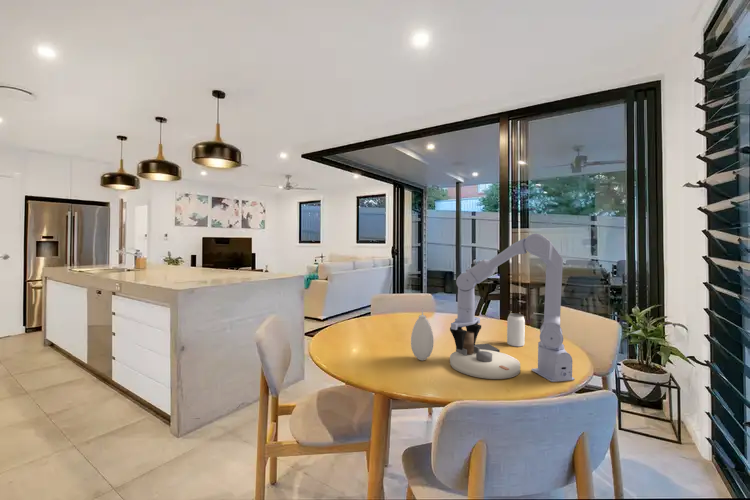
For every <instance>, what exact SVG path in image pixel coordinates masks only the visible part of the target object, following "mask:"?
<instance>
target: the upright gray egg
mask: <svg viewBox="0 0 750 500" xmlns="http://www.w3.org/2000/svg"><path fill="white" fill-rule="evenodd" d="M434 341H435V339H434V333H433V329H432V327H431V324H430V322H429V320H428V319H427V316H426V315H424V308H422V309H421V315H419V316H418V318H417V319H416V321H415V323H414V325H413V328H412V331H411V335H410V347H411V351H412V354H413V355H414V356H415V357H416V359H417V360H419V361H425V360H427V359H428V358H430V356H431V355H432V352H433V349H434Z"/></svg>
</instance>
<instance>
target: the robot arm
mask: <svg viewBox="0 0 750 500" xmlns="http://www.w3.org/2000/svg"><path fill="white" fill-rule="evenodd" d="M527 252H528V253H530V254H531V255H533V256H535V257H538V259H539V260H540V261H542V262H543V263H544V264H545V266H546V267H545V285H544V286H545V287H544V288H545V289H544V291H545V292H544V311H543V313H544V314H543V323H542V325H541V326H540V329H539V333H540V334H539V341H538V342H537V343H538V344H537V345H538V346H537V367H536V368H535V367H534V368H531V371H532V372H534V373H535V374H537V375H539V376H540V377H542V378H543V379H546V380H547V381H550V382H551V383H554V382H566V381H567V382H568V381H574V380H575V377H573V357H572V355H571V354H570V353H569V352H567V350H566V349H565V345H564V344H563V343H564V335H563V329H562V327H561V310H562V307H561V305H562V287H563V286H562V284H563V263H564V260H563V257H562V256H561V253H559V251H558V250H557V249H556V247H555V245H554V244H553V243H552V242H551V240H550V239H548V238H547V237H546V236H544V235H543V234H541V233H532V234H529V235H528V236H527V237H525V238H521V239H520V240H518V241H515V242H514V243H512V244H510V245H509V246H508V247H506V248H505V249H504V250H502V251H501V252H499V253H498V254H496V255H495V256H494V257H492V258H491V259H485V258H484V259H482V260H481V259H479V260H478V261H477V262H476V263H477V264H474V265H473V266H472V267H471V268H467V269H466V270H465V272H464V273H463V272H462V273H460V274H459V275H458V277H457V278H456V280H455V282H456V283H455V284H456V286H457V318H455V319H454V321H453V322H451V323H450V327H449V331H450V332H451V335H452V337H453V340H454V344H455V349H456V348H457V349H460V350H463V346H464V338H465V334H466V332H467V331H472V332H474V345H475V344H476V341H477V338H478V336H479V335H478V334H479V332H480V331H481V329H482V324H480V323H481V317H477V316H475V314H476V313H475V311H476V302H475V301H476V295H475V287H476V286H477V284H480V283H482V282H483V281H485V280H486V279H488V278H490V277H491V276H493V275H495V273H496V269H497V267H499V266H500V265H502V264H504V263H506V262H507V261H509V260H510V259H512V258H514V257H515V256H518V255H525V254H527ZM464 327H465V329H466V330H465V329H463V328H464Z"/></svg>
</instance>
